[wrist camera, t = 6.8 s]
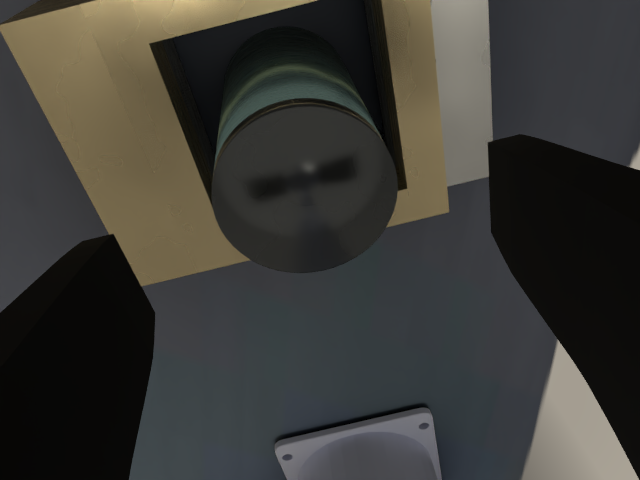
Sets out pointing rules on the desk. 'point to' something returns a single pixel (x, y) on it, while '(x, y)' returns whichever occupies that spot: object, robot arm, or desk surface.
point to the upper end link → (175, 123)
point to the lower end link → (453, 87)
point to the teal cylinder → (298, 157)
